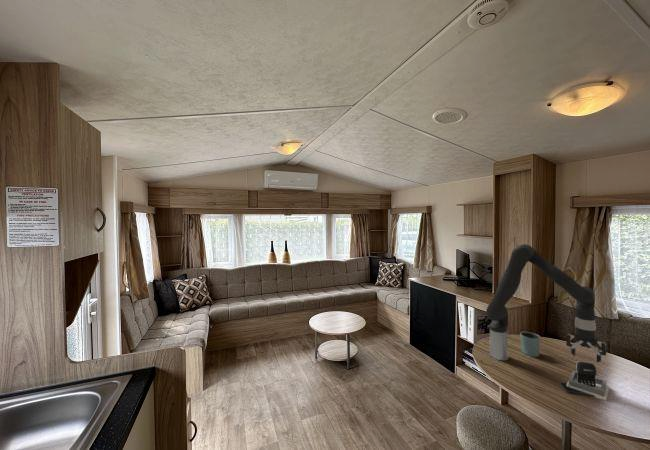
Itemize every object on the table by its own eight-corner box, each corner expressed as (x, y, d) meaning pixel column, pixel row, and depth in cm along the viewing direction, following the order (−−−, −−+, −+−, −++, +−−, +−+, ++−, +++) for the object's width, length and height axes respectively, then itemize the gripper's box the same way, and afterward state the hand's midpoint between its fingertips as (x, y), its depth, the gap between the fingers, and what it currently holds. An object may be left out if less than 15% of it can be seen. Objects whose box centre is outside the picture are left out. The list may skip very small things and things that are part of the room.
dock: (566, 387, 134) (566, 380, 134) (571, 376, 143) (571, 369, 143) (606, 400, 123) (606, 393, 123) (609, 387, 132) (608, 380, 132)
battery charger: (580, 386, 133) (579, 363, 133) (576, 381, 136) (575, 359, 136) (598, 388, 130) (597, 365, 130) (594, 384, 134) (593, 361, 134)
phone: (558, 382, 138) (596, 387, 132) (559, 384, 138) (596, 389, 132) (566, 391, 130) (606, 397, 125) (566, 393, 130) (606, 399, 125)
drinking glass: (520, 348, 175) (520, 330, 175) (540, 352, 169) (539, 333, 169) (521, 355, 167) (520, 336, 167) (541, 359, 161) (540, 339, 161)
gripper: (564, 325, 136) (565, 355, 136) (605, 333, 125) (605, 367, 125) (567, 321, 141) (568, 350, 141) (606, 328, 130) (607, 361, 130)
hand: (586, 358), depth 133 cm, fingers open, 8 cm apart
